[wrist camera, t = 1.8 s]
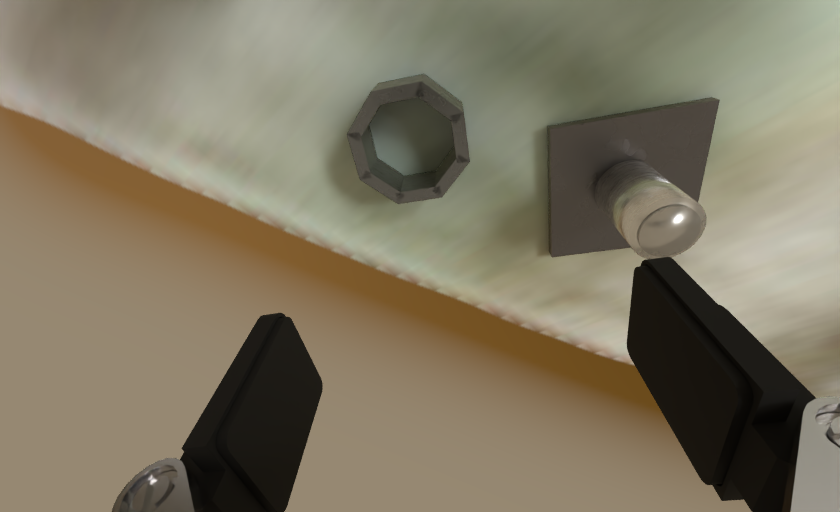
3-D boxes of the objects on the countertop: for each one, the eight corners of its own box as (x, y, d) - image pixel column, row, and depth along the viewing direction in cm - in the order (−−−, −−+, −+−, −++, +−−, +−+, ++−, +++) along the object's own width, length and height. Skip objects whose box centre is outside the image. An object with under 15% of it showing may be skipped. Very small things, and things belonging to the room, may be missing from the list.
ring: (347, 89, 25) (336, 98, 22) (457, 67, 24) (458, 73, 21) (375, 191, 29) (368, 208, 26) (471, 175, 28) (473, 192, 25)
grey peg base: (547, 126, 25) (578, 161, 19) (711, 97, 24) (800, 126, 18) (549, 251, 31) (574, 310, 25) (684, 234, 29) (745, 292, 23)
